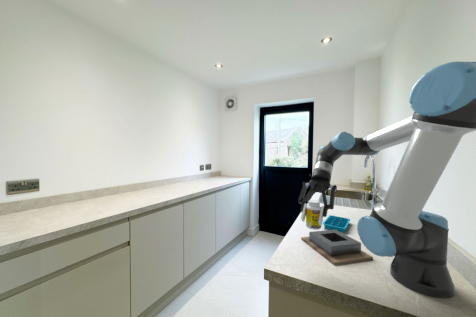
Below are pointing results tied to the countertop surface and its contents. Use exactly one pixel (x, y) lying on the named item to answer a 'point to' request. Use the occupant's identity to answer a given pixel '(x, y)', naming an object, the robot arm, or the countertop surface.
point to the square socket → (336, 248)
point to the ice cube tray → (336, 223)
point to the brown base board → (341, 258)
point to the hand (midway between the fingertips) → (311, 221)
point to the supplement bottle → (313, 215)
